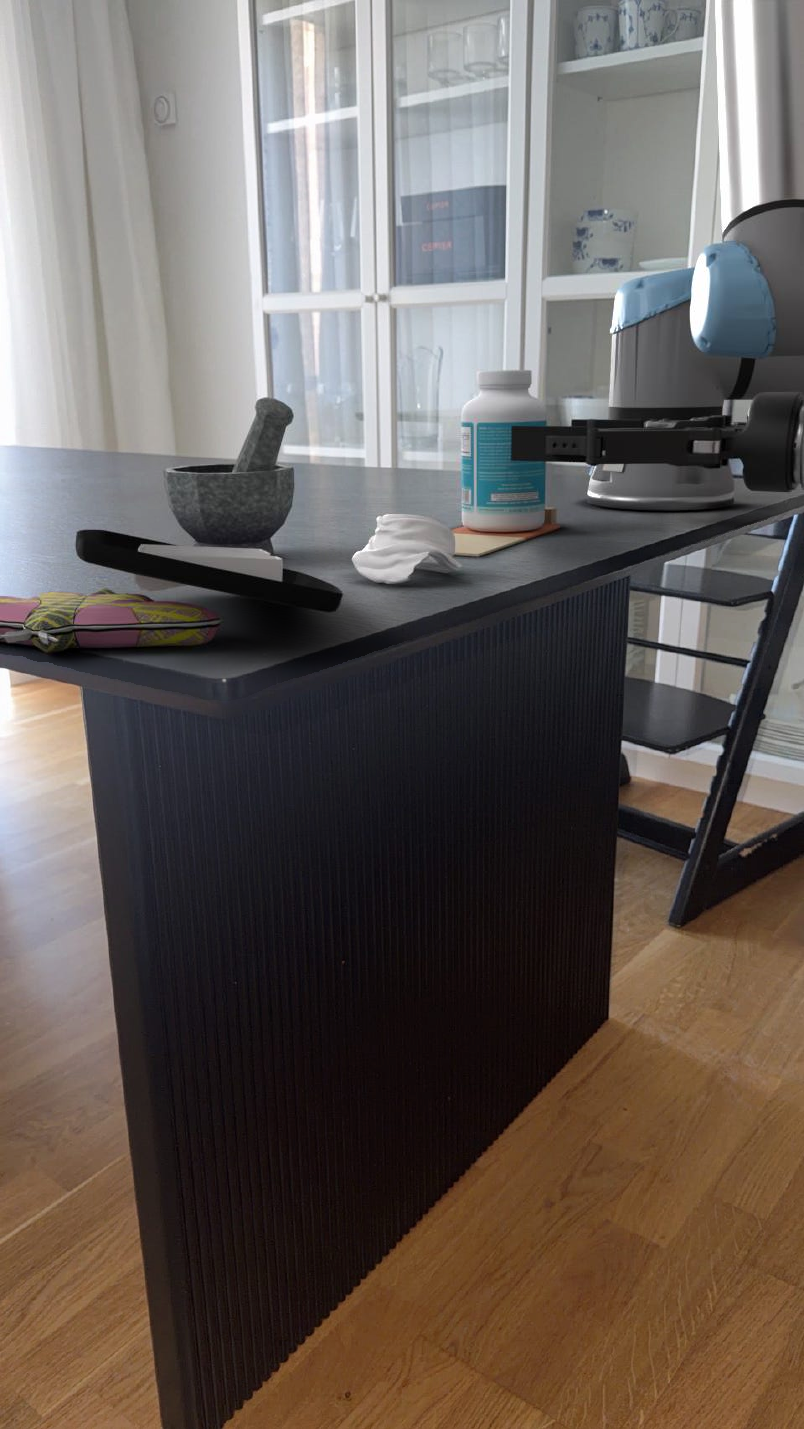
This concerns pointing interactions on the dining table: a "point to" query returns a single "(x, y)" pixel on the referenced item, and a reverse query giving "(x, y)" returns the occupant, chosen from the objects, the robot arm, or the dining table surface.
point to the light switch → (206, 569)
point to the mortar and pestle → (238, 488)
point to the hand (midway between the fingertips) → (543, 438)
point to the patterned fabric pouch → (103, 621)
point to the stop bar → (550, 516)
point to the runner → (491, 539)
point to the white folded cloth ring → (406, 549)
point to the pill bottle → (501, 456)
